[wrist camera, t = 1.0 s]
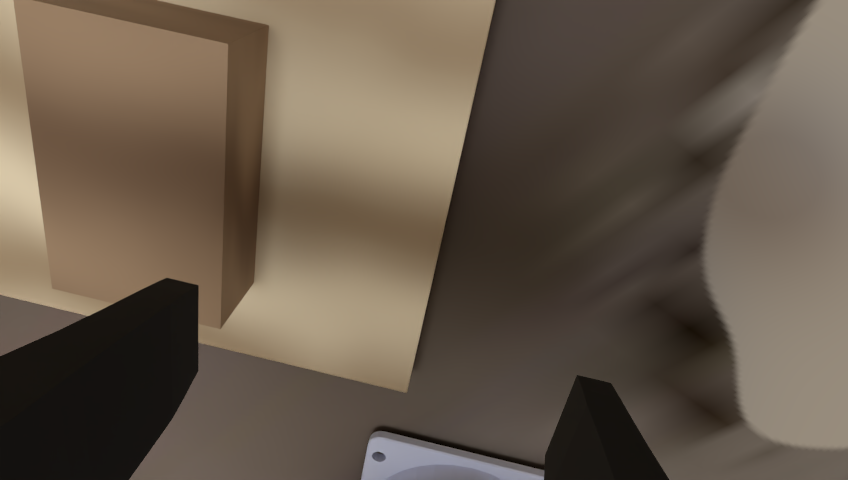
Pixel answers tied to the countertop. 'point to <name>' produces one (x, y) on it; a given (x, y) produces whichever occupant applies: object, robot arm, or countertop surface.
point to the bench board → (312, 179)
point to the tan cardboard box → (146, 145)
